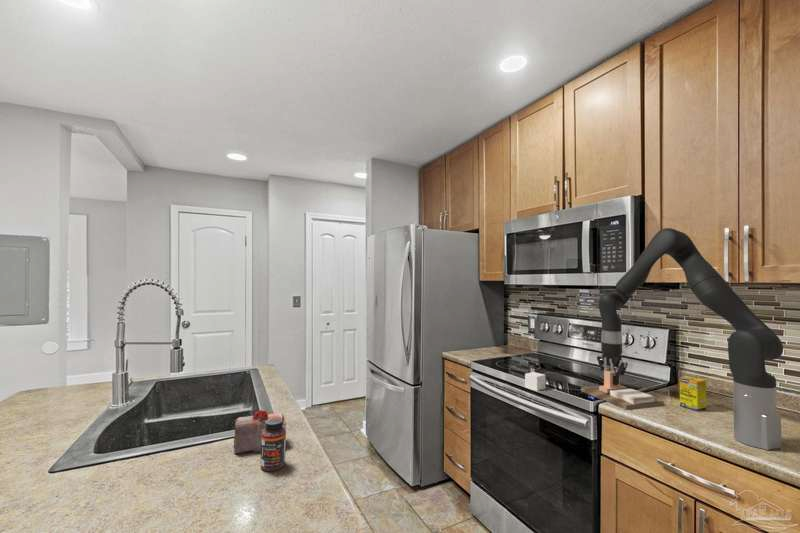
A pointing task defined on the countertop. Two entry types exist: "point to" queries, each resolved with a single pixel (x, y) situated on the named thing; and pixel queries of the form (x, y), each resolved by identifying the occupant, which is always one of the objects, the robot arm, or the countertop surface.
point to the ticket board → (618, 401)
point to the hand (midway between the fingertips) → (611, 383)
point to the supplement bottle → (273, 445)
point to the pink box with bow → (252, 430)
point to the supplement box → (693, 393)
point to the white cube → (535, 381)
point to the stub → (609, 383)
